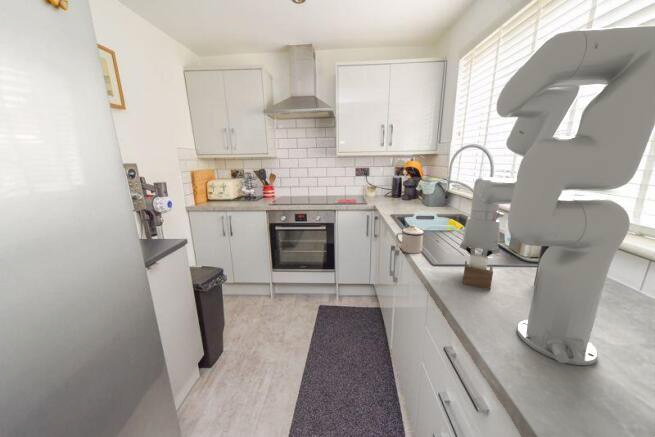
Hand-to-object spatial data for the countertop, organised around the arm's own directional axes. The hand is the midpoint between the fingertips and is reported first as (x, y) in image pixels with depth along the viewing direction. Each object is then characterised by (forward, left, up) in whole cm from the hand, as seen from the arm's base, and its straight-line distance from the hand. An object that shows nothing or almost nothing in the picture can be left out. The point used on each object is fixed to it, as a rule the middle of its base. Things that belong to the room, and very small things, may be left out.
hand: (476, 266), depth 84 cm
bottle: (-2, -19, -3) cm, 19 cm away
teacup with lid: (+13, +26, -3) cm, 29 cm away
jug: (-3, 0, -3) cm, 4 cm away
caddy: (-8, 0, -3) cm, 9 cm away
